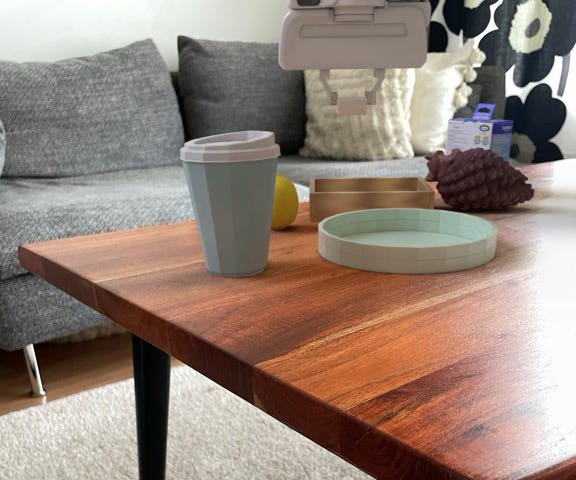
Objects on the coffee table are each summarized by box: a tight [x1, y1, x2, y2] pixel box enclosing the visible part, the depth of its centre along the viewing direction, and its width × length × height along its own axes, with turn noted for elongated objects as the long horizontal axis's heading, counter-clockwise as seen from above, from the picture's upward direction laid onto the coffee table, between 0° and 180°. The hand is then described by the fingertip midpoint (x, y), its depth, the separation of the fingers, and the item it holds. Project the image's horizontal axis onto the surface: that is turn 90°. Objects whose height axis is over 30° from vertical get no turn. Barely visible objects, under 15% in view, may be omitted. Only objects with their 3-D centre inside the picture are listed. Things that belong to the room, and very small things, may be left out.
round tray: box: [317, 208, 499, 275], centre depth 87 cm, size 21×21×4 cm
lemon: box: [271, 172, 299, 231], centre depth 98 cm, size 6×6×8 cm
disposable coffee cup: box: [179, 130, 282, 278], centre depth 78 cm, size 11×11×15 cm
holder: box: [308, 176, 436, 223], centre depth 108 cm, size 18×14×5 cm
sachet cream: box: [335, 96, 368, 116], centre depth 101 cm, size 4×6×2 cm, turn 178°
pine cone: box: [424, 147, 535, 212], centre depth 110 cm, size 18×10×10 cm
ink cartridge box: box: [444, 102, 514, 163], centre depth 120 cm, size 10×6×14 cm, turn 36°
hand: (350, 105), depth 101 cm, fingers closed on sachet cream, 4 cm apart
